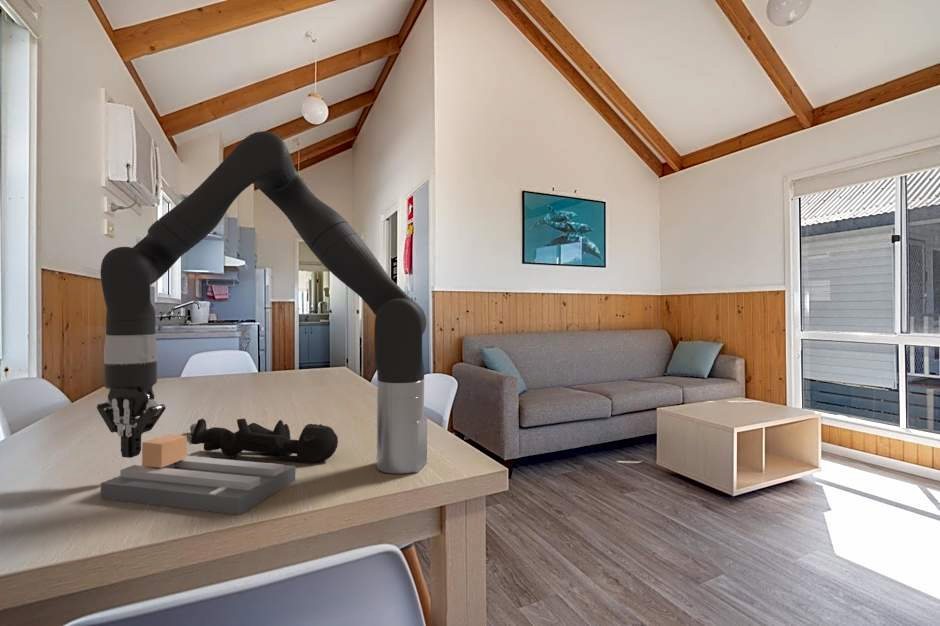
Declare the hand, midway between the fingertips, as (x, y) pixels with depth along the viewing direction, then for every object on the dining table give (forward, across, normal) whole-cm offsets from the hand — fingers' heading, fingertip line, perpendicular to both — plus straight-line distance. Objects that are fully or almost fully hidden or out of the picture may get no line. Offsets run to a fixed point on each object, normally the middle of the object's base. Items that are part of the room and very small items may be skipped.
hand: (130, 456), depth 78 cm
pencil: (+5, +10, -26) cm, 28 cm away
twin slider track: (+4, -15, 0) cm, 16 cm away
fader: (+2, -7, 0) cm, 8 cm away
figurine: (+5, -15, -17) cm, 23 cm away
